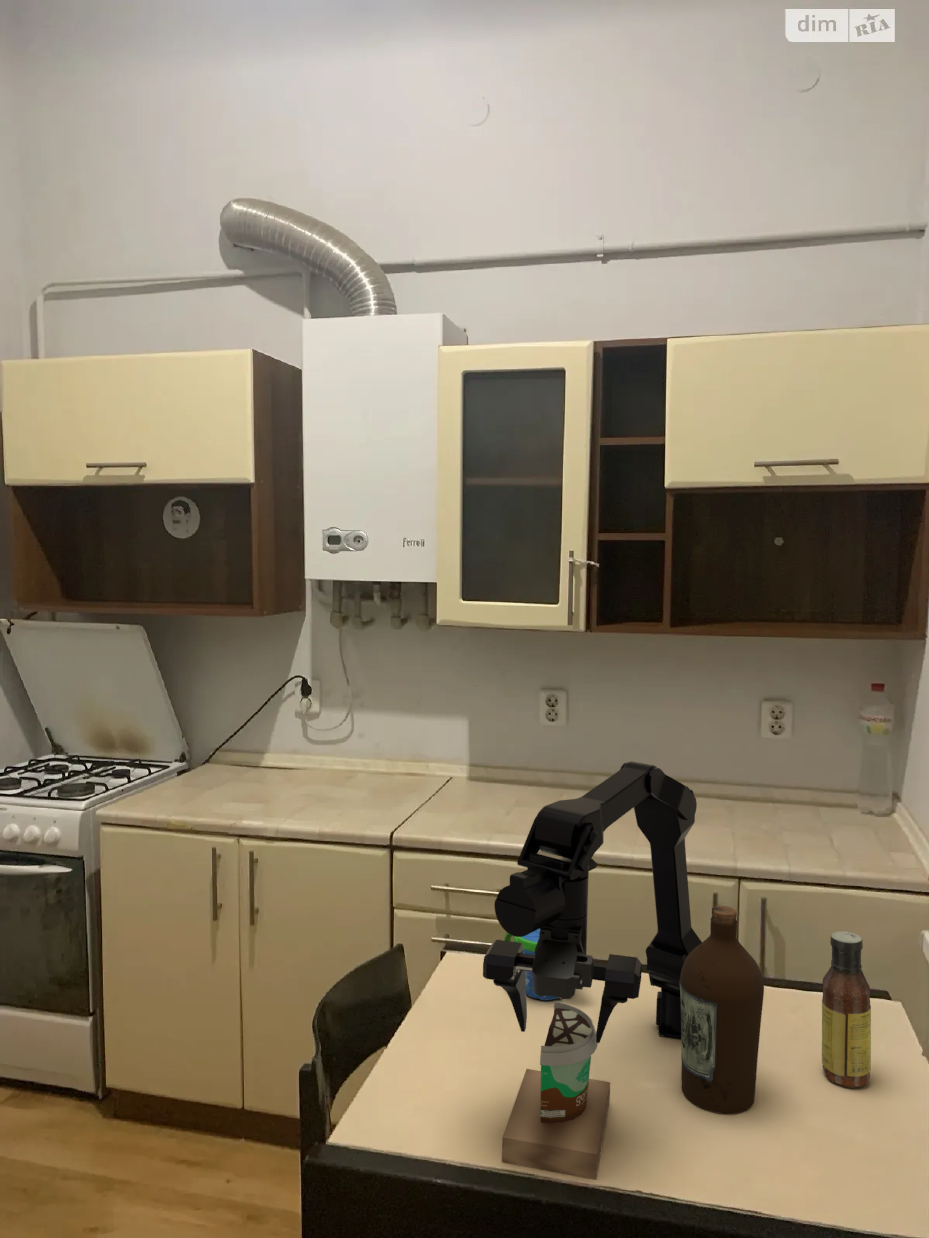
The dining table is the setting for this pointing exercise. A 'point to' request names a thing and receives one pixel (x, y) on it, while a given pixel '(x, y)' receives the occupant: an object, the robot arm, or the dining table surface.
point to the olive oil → (720, 1019)
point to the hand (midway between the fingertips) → (560, 1035)
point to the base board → (556, 1131)
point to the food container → (566, 1064)
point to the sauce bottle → (846, 1014)
